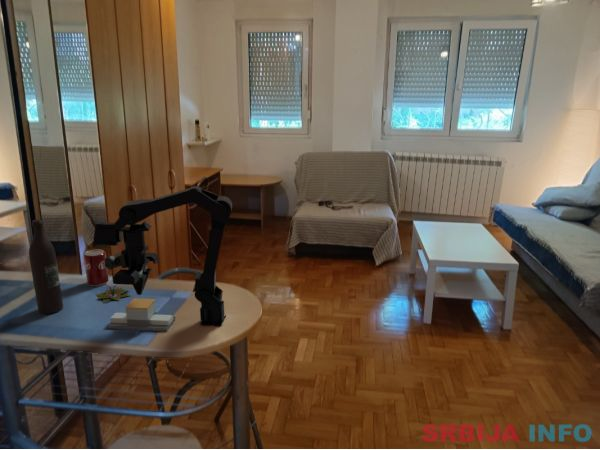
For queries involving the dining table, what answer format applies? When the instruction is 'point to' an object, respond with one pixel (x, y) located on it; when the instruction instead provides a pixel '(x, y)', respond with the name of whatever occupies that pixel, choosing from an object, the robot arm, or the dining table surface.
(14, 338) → the dining table surface
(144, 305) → the block
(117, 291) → the lily flower
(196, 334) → the dining table surface
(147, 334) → the dining table surface
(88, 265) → the soda can
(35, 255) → the wine bottle
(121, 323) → the rail
